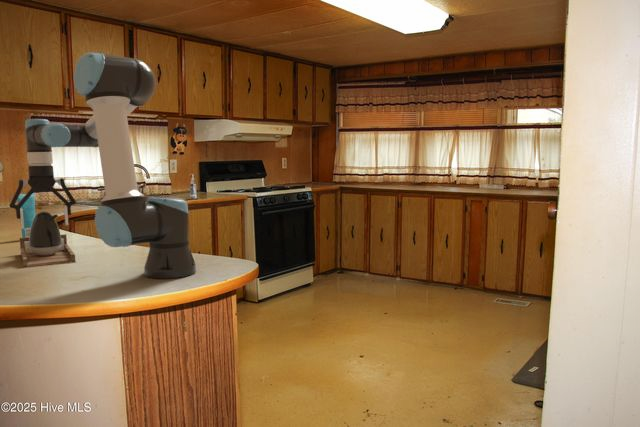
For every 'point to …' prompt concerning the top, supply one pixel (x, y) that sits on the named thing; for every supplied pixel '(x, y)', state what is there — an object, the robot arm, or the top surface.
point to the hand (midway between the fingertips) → (45, 226)
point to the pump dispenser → (44, 235)
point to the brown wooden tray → (37, 260)
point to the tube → (27, 213)
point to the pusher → (28, 250)
